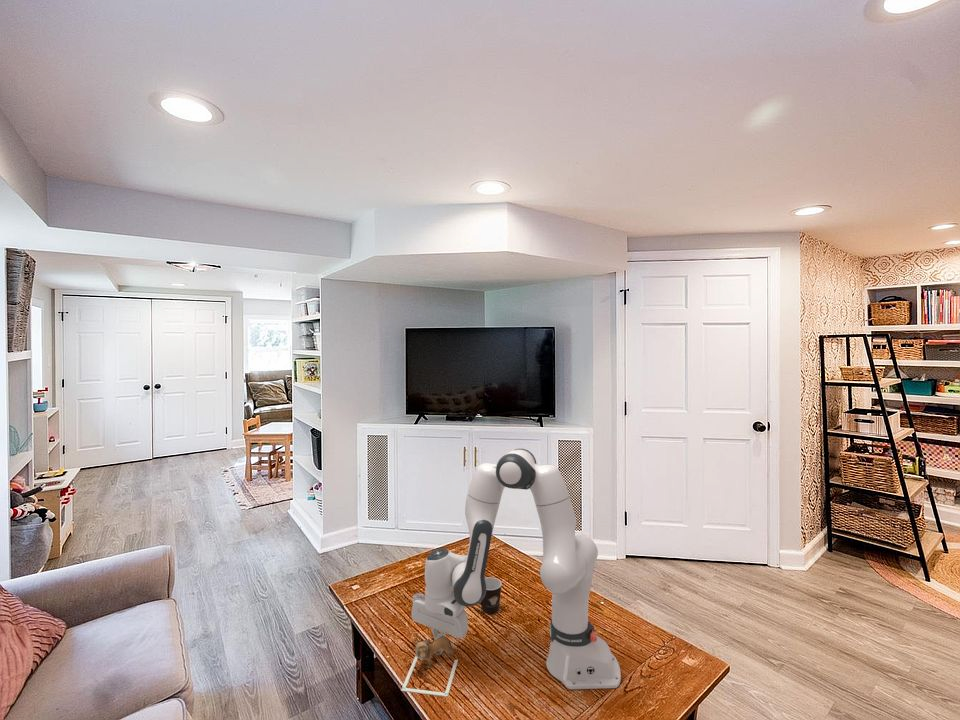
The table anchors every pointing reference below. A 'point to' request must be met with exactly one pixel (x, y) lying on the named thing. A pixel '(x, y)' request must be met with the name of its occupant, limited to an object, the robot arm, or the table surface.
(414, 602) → the robot arm
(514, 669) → the table surface
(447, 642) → the lion figurine
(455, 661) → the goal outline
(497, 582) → the coffee mug
